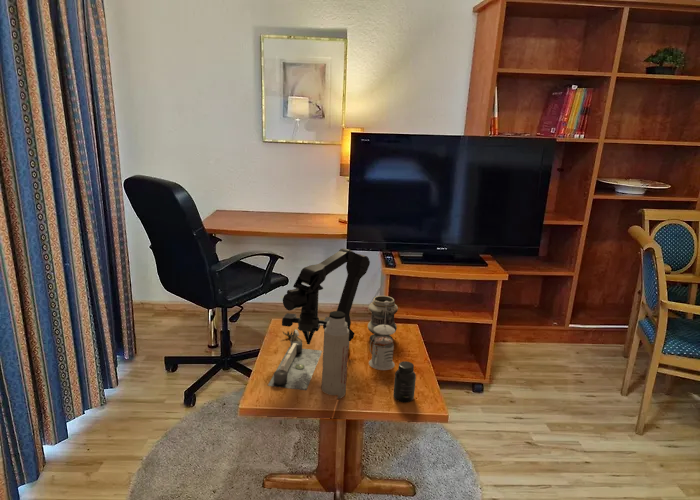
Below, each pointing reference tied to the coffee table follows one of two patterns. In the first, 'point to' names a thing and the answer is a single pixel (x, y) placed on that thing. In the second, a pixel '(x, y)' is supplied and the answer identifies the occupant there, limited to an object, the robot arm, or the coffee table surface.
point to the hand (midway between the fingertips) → (308, 343)
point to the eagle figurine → (293, 336)
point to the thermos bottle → (335, 355)
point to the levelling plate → (299, 369)
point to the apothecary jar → (382, 314)
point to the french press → (382, 347)
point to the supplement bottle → (404, 382)
